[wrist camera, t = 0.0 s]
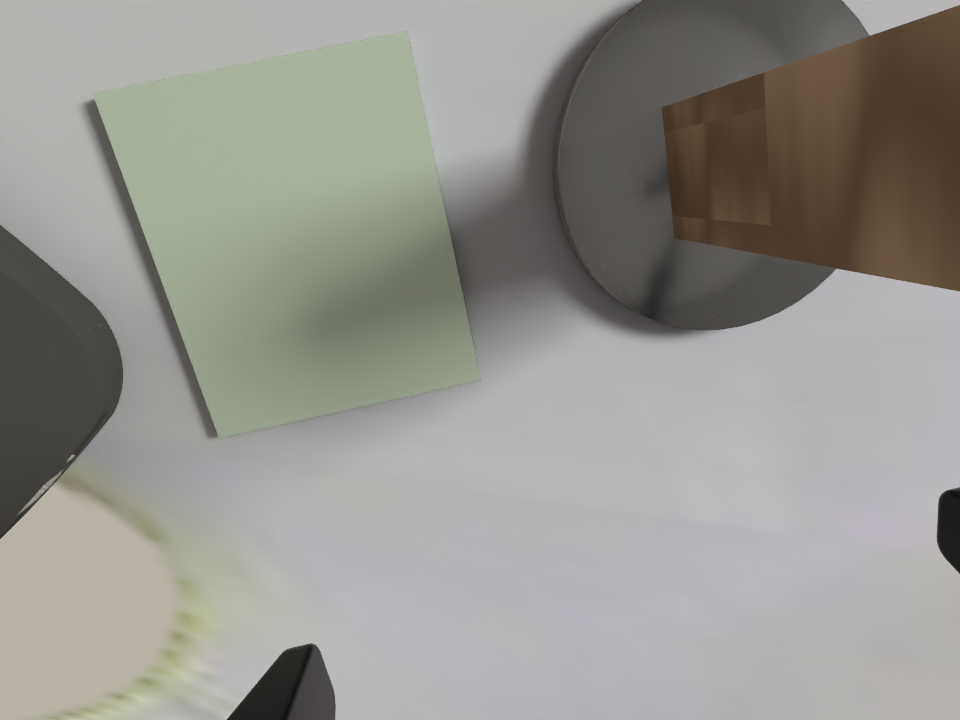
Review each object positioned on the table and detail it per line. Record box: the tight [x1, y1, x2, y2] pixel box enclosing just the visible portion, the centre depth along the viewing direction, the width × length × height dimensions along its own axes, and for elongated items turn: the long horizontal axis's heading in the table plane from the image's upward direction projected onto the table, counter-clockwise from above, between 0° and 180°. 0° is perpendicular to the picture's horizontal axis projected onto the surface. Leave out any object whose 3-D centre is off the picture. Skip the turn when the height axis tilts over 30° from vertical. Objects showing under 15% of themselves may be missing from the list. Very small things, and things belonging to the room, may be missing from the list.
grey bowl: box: [553, 0, 869, 330], centre depth 19 cm, size 12×12×5 cm
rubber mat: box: [93, 31, 481, 438], centre depth 20 cm, size 12×10×1 cm
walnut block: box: [662, 5, 960, 291], centre depth 14 cm, size 4×4×13 cm
